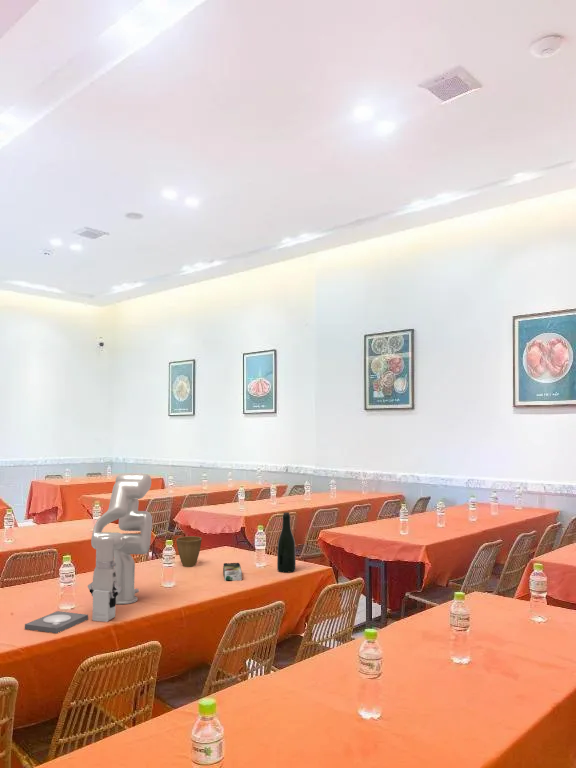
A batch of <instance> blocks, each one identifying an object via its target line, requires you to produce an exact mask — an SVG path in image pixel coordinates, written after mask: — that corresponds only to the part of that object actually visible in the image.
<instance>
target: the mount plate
mask: <svg viewBox="0 0 576 768" xmlns="http://www.w3.org/2000/svg"><path fill="white" fill-rule="evenodd" d="M85 620H86V621H88V620H89V614H86V613H85V614H84V613H78V612H77V613H76V612H69V611H59V610H57V611H53V612H52V613H50V614H47V615H44V616H42V617H40V618H37V619H34V620H32V621H29V622H27V623H24V630H27V629H30V630H29V631H34V630H38V631H37V632H42V631H45V632H44V633H49V632H52V633H51V634H58V632H59V633H61V632H63V631H65V629H66V630H67V629H69V628H72V627H75V626H77V625H79V624H81V623H83V622H86V621H85ZM76 624H77V625H76ZM60 631H61V632H60Z"/></svg>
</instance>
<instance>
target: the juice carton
mask: <svg viewBox="0 0 576 768" xmlns="http://www.w3.org/2000/svg"><path fill="white" fill-rule="evenodd" d="M222 569H223V571H222V574H223V578H224V579H223V580H224V581H225V582H227V581H233V582H234V581H236V582H237V581H242V579H243V573H242V567H241V564H240V562H233V563H232V562H230V563H229V562H228V563H226V562H224V563H223V566H222Z"/></svg>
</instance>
